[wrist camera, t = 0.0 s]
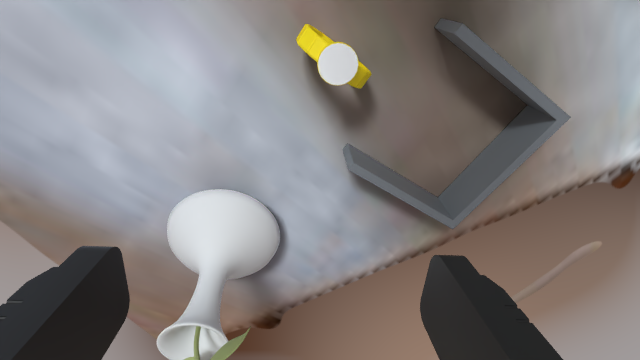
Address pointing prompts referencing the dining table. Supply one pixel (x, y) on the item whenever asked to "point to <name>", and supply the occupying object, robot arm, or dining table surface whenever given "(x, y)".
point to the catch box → (493, 160)
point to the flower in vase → (215, 265)
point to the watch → (333, 58)
